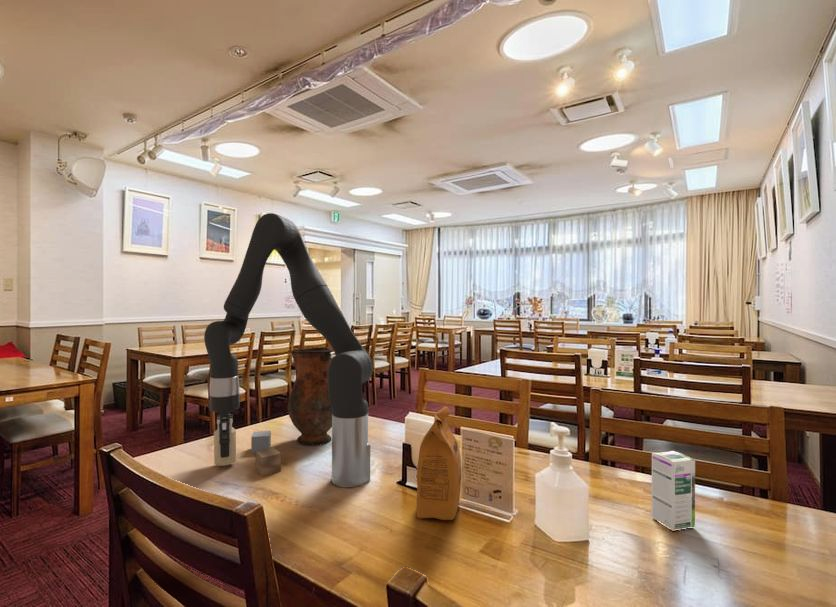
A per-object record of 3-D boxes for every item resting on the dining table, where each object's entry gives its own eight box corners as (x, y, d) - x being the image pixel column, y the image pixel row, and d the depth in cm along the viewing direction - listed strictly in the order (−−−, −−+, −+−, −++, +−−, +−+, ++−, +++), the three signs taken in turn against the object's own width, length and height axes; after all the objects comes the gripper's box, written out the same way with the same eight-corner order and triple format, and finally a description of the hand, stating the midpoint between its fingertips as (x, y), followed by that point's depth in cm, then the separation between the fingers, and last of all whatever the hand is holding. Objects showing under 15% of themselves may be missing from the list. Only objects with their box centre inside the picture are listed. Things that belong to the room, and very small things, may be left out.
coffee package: (466, 499, 99) (467, 406, 98) (455, 527, 87) (456, 421, 86) (426, 493, 102) (426, 402, 101) (409, 519, 90) (410, 417, 89)
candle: (239, 458, 119) (239, 423, 119) (229, 466, 114) (229, 429, 114) (221, 457, 120) (221, 422, 120) (210, 465, 114) (209, 429, 114)
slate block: (270, 446, 132) (270, 430, 132) (268, 452, 127) (268, 435, 127) (253, 447, 131) (253, 431, 131) (251, 453, 126) (251, 436, 126)
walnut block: (274, 465, 118) (274, 447, 117) (280, 471, 114) (280, 453, 114) (255, 470, 114) (256, 451, 114) (262, 476, 111) (262, 457, 110)
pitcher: (303, 430, 148) (303, 345, 147) (360, 435, 143) (360, 347, 142) (276, 446, 132) (276, 351, 131) (339, 453, 127) (339, 354, 126)
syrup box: (673, 533, 86) (674, 462, 85) (650, 518, 91) (651, 451, 91) (695, 529, 87) (696, 459, 87) (671, 514, 93) (672, 449, 92)
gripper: (239, 396, 111) (240, 460, 112) (239, 386, 125) (239, 443, 125) (207, 399, 108) (208, 464, 109) (211, 388, 122) (211, 446, 122)
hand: (225, 452), depth 117 cm, fingers closed on candle, 5 cm apart
